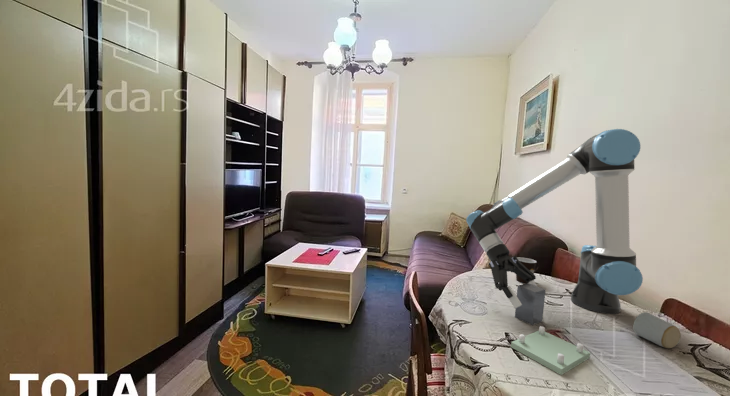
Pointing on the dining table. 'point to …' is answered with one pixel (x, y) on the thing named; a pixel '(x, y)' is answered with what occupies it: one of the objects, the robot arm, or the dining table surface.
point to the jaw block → (530, 303)
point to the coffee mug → (529, 265)
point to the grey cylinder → (656, 330)
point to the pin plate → (551, 350)
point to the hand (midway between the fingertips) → (530, 303)
